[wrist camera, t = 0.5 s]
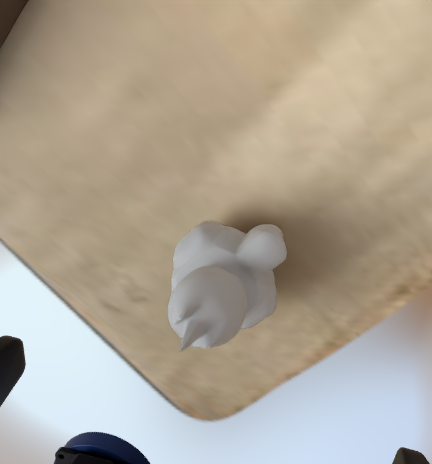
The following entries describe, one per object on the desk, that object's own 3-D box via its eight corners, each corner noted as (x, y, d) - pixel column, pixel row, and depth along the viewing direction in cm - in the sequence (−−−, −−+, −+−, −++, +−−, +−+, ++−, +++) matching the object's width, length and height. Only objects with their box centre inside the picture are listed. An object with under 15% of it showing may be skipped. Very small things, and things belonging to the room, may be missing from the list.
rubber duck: (161, 254, 22) (85, 330, 14) (250, 176, 20) (214, 220, 12) (226, 325, 22) (184, 435, 15) (320, 257, 20) (327, 347, 13)
